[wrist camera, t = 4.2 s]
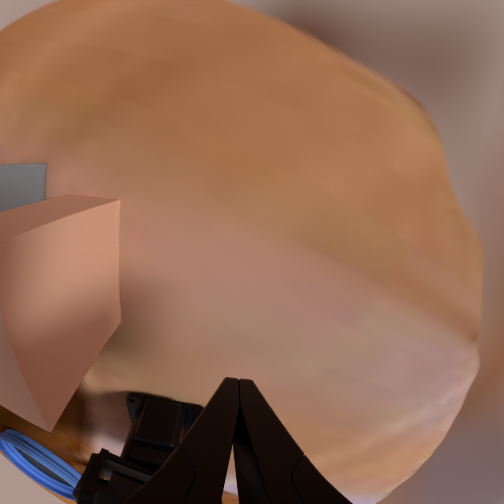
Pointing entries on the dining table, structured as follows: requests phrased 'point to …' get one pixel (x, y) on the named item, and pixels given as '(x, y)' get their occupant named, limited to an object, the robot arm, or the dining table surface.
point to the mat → (21, 185)
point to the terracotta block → (55, 300)
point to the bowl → (39, 463)
